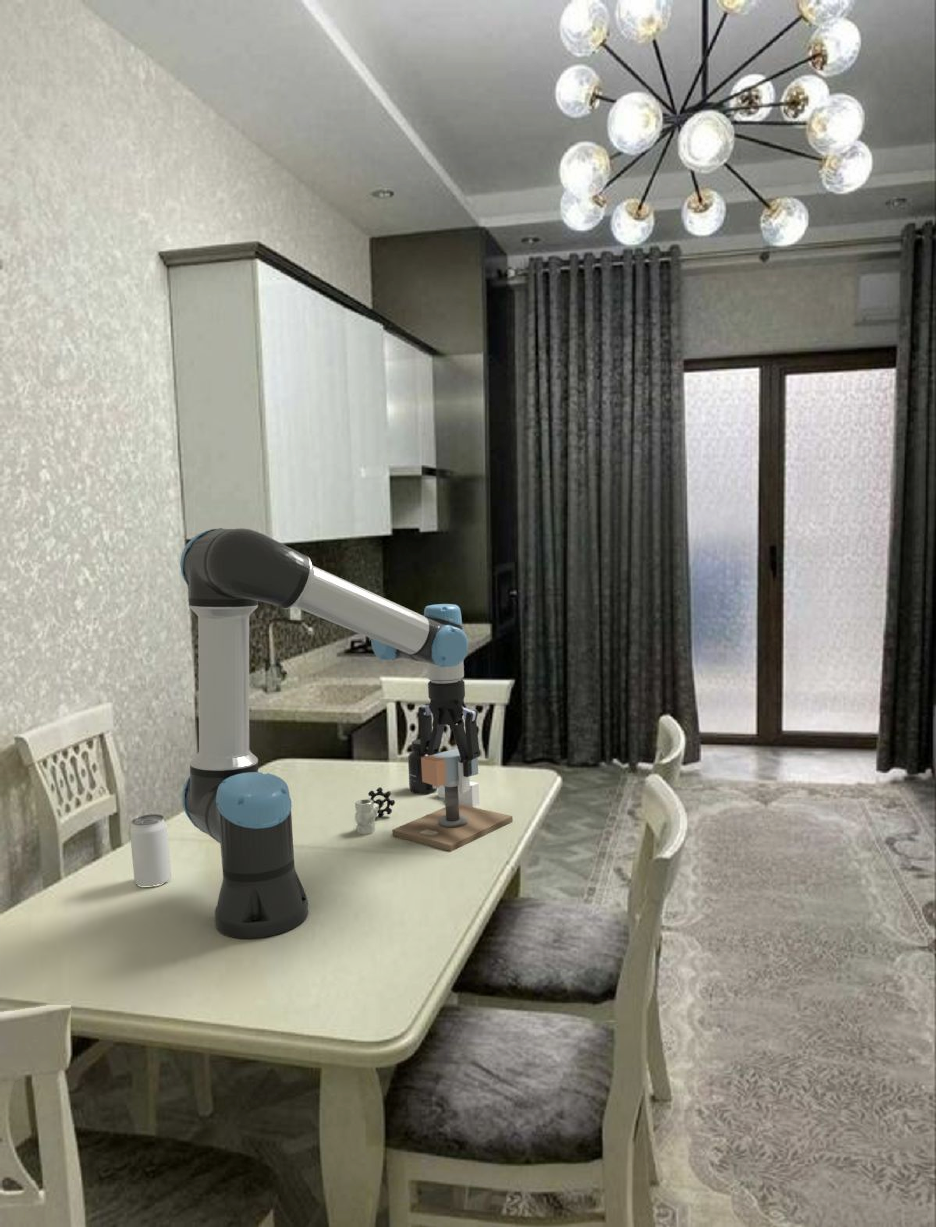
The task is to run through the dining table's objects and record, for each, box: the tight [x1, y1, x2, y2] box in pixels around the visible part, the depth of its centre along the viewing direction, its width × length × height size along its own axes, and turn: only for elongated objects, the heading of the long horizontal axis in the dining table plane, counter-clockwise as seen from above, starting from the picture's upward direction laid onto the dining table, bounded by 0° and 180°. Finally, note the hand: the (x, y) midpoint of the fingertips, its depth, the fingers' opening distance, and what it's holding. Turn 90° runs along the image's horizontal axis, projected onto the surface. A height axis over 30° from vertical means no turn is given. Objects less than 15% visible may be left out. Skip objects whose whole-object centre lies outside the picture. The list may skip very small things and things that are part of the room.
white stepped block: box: [437, 781, 480, 808], centre depth 209 cm, size 15×11×6 cm
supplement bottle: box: [407, 738, 438, 795], centre depth 217 cm, size 7×7×12 cm
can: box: [129, 813, 172, 886], centre depth 169 cm, size 6×6×12 cm
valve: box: [354, 786, 396, 836], centre depth 194 cm, size 7×7×12 cm
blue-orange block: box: [421, 747, 479, 787], centre depth 189 cm, size 5×11×6 cm, turn 130°
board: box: [391, 786, 514, 852], centre depth 190 cm, size 20×16×9 cm
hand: (451, 788), depth 190 cm, fingers open, 6 cm apart
